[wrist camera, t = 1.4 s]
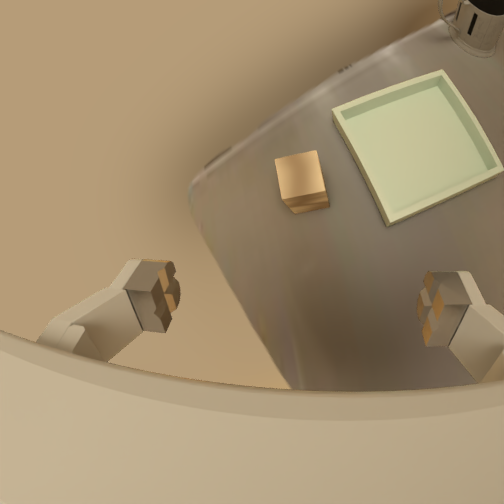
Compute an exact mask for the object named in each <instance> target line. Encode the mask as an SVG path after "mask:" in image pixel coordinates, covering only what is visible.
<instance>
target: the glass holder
mask: <svg viewBox="0 0 504 504" xmlns="http://www.w3.org/2000/svg"><path fill="white" fill-rule="evenodd" d="M442 3H443V0H438V9H439V13H440V16H441V18H442V19H443V20H444V21H445V22H446V23H447V24H448V25H449V33H450V36H451V38H452V39H453V40H454V42H455V43H456V44H457V45H458V46H459V47H460V48H462V49H463V50H464V51H466V52H468V53H470V54H472V55H474V56H477V57H481V58H488V57H491V56H492V55H493V54H494V53H495V44H496V42H497V40H498V38H499V36H500V34H501V32H502V30H503V27H504V0H459V2H458V6H457V10H456V13H455V17H454V21H453V22H452V23H450V22H448V21H447V20H446V19H445V17H444V15H443V12H442Z"/></svg>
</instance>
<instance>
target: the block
mask: <svg viewBox="0 0 504 504" xmlns="http://www.w3.org/2000/svg"><path fill="white" fill-rule="evenodd" d="M275 163H276V169H277V174H278V180H279V186H280V191H281V197H282V200H283V201H284V202H285V204H286V205H287V206H288V207H289V208H290V209H291V210H292V211H293V213H294V214H297V213H303V212H308V211H313V210H318V209H323V208H329V207H330V205H329V200H328V196H327V191H326V186H325V181H324V177H323V172H322V169H321V165H320V161H319V158H318V154H317V151H316V150H315V151H310V152H306V153H301V154H296V155H292V156H287V157H283V158H278V159H275Z"/></svg>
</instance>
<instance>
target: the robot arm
mask: <svg viewBox="0 0 504 504" xmlns="http://www.w3.org/2000/svg"><path fill="white" fill-rule="evenodd" d="M175 272H176V270H175V267H174V264H173V262H171V261H164V260H151V259H135V258H134V259H133V258H132V259H129V260H128V262H127V263H126V264H125V266H124V267H123V269H122V270H121V271H120V273H119V274H118V275H117V277H116V278H115V280H114V281H113V283H112V284H111V286H110V287H109V288H104V289H102V290H100V291H98V292H97V293H95V294H93V295H91V296H90V297H88V298H86V299H84V300H83V301H81V302H79V303H78V304H76V305H74V306H73V307H71V308H69V309H68V310H66V311H64V312H62V313H61V314H59V315H57V316H56V317H54V318H53V319H52V320H51V321H50V323H49V324H48V325H47V327H46V328H45V330H44V331H43V333H42V334H41V335H40V337H39V339H38V340H37V341H36V342H33V341H30V340H27V339H24V338H21V337H18V336H16V335H13V334H10V333H7V332H4V331H2V330H0V504H504V315H502V314H501V313H500V312H499V311H497V310H496V309H495V308H494V307H492V306H491V305H490V304H488V305H486V303H485V301H484V299H483V297H482V295H481V293H480V291H479V289H478V287H477V285H476V283H475V281H474V279H473V277H472V275H471V273H470V272H468V271H455V272H446V271H428V272H427V273H426V275H425V278H424V281H423V282H424V284H425V288H424V289H423V290H422V291H420V293H419V297H418V300H417V315H418V319H419V321H420V322H421V323H422V324H423V325H424V326H423V329H422V334H423V338H424V342H425V346H426V347H433V346H449V347H448V348H449V349H450V350H451V351H452V353H453V354H454V355H455V356H456V357H457V358H458V360H459V361H460V362H461V363H462V365H463V366H464V367H465V368H466V369H467V371H468V372H469V373H470V374H471V376H472V377H473V378H474V379H475V381H476V382H477V383H478V384H471V385H462V386H453V387H443V388H432V389H418V390H400V391H364V392H344V391H308V390H288V389H274V388H262V387H252V386H242V385H233V384H224V383H216V382H209V381H202V380H195V379H189V378H182V377H177V376H171V375H165V374H160V373H154V372H149V371H144V370H139V369H134V368H130V367H125V366H120V365H116V364H112V363H108V361H109V360H110V359H111V358H113V357H114V356H115V355H116V354H117V353H118V352H120V351H121V350H122V349H123V348H124V347H126V346H127V345H128V344H129V343H130V342H132V341H133V340H134V339H135V338H136V337H137V336H139V335H140V334H141V333H142V332H143V331H150V332H159V333H166V331H167V329H168V327H169V324H170V322H171V320H172V317H171V312H173V311H174V310H176V309H177V306H178V304H179V301H180V286H179V282H178V281H177V280H176V279H175V278H174V277H173V276H174V274H175Z"/></svg>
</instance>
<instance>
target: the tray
mask: <svg viewBox="0 0 504 504" xmlns="http://www.w3.org/2000/svg"><path fill="white" fill-rule="evenodd" d="M332 115H333V122H334V123H335V125H336V127H337V129H338V131H339V132H340V134H341V136H342V138H343V140H344V141H345V143H346V145H347V147H348V149H349V151H350V153H351V154H352V156H353V158H354V160H355V162H356V164H357V166H358V168H359V170H360V172H361V174H362V176H363V178H364V180H365V182H366V184H367V186H368V188H369V190H370V192H371V194H372V196H373V198H374V201H375V203H376V205H377V207H378V209H379V211H380V214H381V216H382V218H383V220H384V222H385V225H386V227H389V226H391V225H393V224H396V223H398V222H400V221H402V220H405V219H407V218H409V217H411V216H413V215H416V214H418V213H420V212H422V211H424V210H427V209H429V208H431V207H433V206H435V205H438V204H440V203H442V202H444V201H446V200H448V199H450V198H453V197H455V196H457V195H459V194H461V193H463V192H465V191H468V190H470V189H472V188H474V187H476V186H478V185H480V184H482V183H484V182H487V181H489V180H491V179H493V178H495V177H496V176H497V175H499V174H500V173H501V172H503V171H504V168H503V166H502V164H501V162H500V160H499V158H498V156H497V154H496V152H495V150H494V148H493V147H492V145H491V143H490V141H489V139H488V138H487V136H486V134H485V132H484V131H483V129H482V127H481V125H480V124H479V122H478V120H477V119H476V117H475V116H474V114H473V112H472V111H471V109H470V108H469V106H468V105H467V103H466V102H465V100H464V99H463V97H462V96H461V94H460V93H459V91H458V90H457V88H456V87H455V86H454V84H453V83H452V81H451V80H450V79H449V77H448V76H447V74H446V73H445V72H444V70H443V69H442V70H439V71H436V72H432V73H429V74H426V75H423V76H420V77H417V78H414V79H411V80H408V81H405V82H402V83H399V84H396V85H393V86H391V87H388V88H385V89H382V90H379V91H377V92H374V93H371V94H369V95H366V96H363V97H361V98H358V99H356V100H353V101H351V102H348V103H346V104H343V105H341V106H338V107H336V108H333V109H332Z"/></svg>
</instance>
